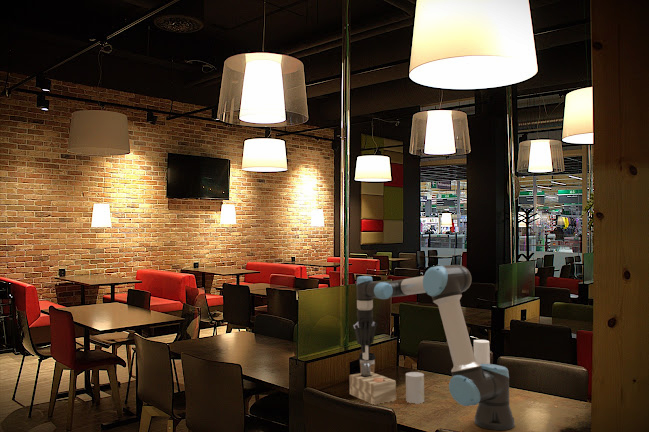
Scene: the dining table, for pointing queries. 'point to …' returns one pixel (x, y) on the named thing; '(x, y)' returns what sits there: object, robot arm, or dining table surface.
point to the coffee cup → (370, 359)
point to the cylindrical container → (482, 351)
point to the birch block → (372, 388)
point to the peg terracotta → (378, 379)
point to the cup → (415, 387)
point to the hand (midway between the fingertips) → (365, 359)
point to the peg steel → (365, 369)
